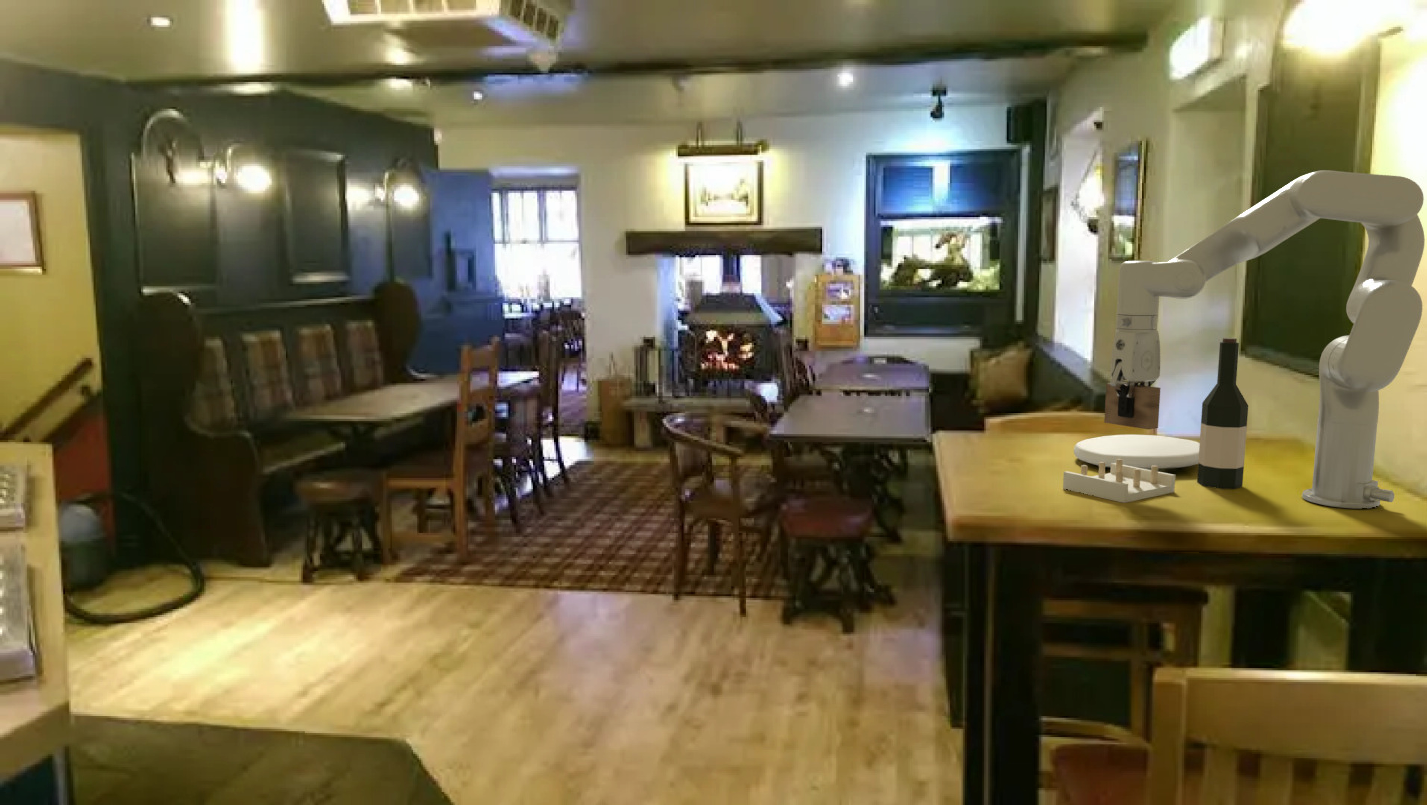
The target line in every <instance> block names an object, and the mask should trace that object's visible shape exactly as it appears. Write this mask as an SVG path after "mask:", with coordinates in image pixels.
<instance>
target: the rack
mask: <svg viewBox="0 0 1427 805" xmlns="http://www.w3.org/2000/svg"><path fill="white" fill-rule="evenodd" d="M1122 463H1123V460H1122V459H1116V463H1111V467H1110V472H1108V473H1107V472H1106V467H1105V462H1099V466H1098V474H1096V475H1091V476H1090V475H1088V469H1089V468H1088V465H1086V464H1081V465H1080V473H1077V472H1073V471H1067V470H1066V471H1063V478H1062V479H1063V480H1062V481H1063V482H1062V483H1063V484H1062V489H1063V490H1066V489H1068V490H1067V491H1070V490H1071V492H1074V493H1079V492H1081V493H1080V494H1083V493H1084V494H1083V495H1087V494H1088V496H1092V495H1094V496H1093V497H1097V498H1102V499H1106V500H1110V501H1114V502H1118V503H1121V504H1122V503H1123V504H1125V503H1130V502H1135V501H1139V500H1144V499H1149V498H1153V497H1157V496H1162V495H1167V494H1171V493H1172V494H1173V493H1175V488H1176V487H1175V484H1176V474H1172V473H1168V472H1162V471H1159V469H1158V466H1151V469H1142V468H1137V467H1132V466H1127V465H1122Z"/></svg>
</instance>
